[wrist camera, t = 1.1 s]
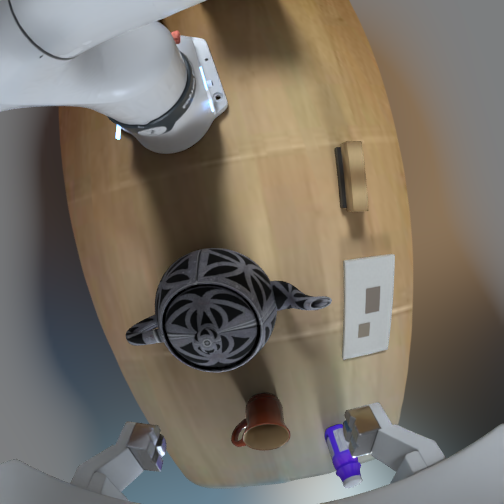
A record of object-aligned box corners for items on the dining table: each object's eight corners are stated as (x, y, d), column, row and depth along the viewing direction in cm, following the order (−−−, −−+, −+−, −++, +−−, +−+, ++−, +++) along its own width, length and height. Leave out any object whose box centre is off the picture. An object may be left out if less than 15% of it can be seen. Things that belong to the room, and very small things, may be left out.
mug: (270, 382, 51) (275, 417, 41) (291, 405, 52) (298, 439, 42) (221, 404, 52) (218, 439, 42) (244, 426, 53) (244, 459, 43)
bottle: (347, 434, 56) (367, 484, 38) (326, 442, 56) (342, 493, 39) (343, 419, 54) (365, 472, 37) (321, 427, 54) (338, 482, 37)
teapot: (320, 322, 48) (346, 369, 33) (163, 357, 49) (140, 407, 34) (299, 219, 44) (325, 232, 30) (126, 266, 45) (83, 295, 30)
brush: (333, 145, 42) (342, 141, 38) (355, 145, 42) (365, 141, 38) (340, 210, 44) (349, 212, 40) (361, 208, 44) (372, 210, 40)
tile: (343, 260, 46) (345, 261, 45) (392, 253, 46) (394, 254, 45) (341, 357, 50) (343, 360, 49) (385, 347, 50) (387, 349, 49)
